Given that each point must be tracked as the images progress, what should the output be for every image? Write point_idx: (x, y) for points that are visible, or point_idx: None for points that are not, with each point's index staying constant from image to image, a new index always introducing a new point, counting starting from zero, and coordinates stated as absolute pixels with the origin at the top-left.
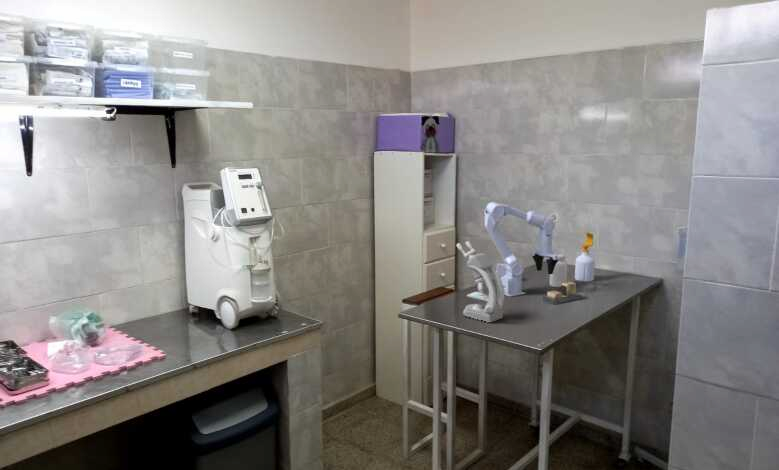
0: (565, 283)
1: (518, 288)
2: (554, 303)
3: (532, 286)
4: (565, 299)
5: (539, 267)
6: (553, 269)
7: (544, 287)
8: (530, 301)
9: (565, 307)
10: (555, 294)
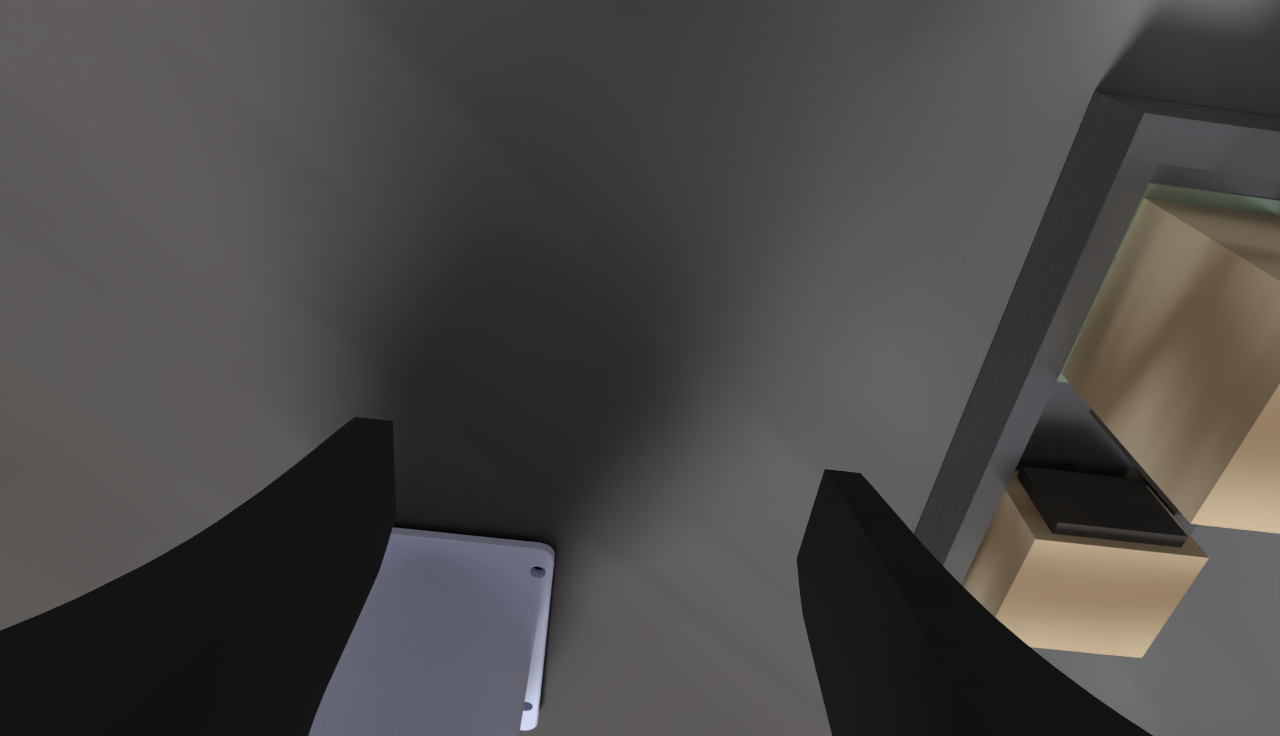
0: (1276, 489)
1: (523, 697)
2: None
3: (238, 168)
4: None
5: (363, 541)
6: (918, 557)
7: (405, 35)
8: (809, 676)
9: (1263, 580)
10: (1144, 649)
